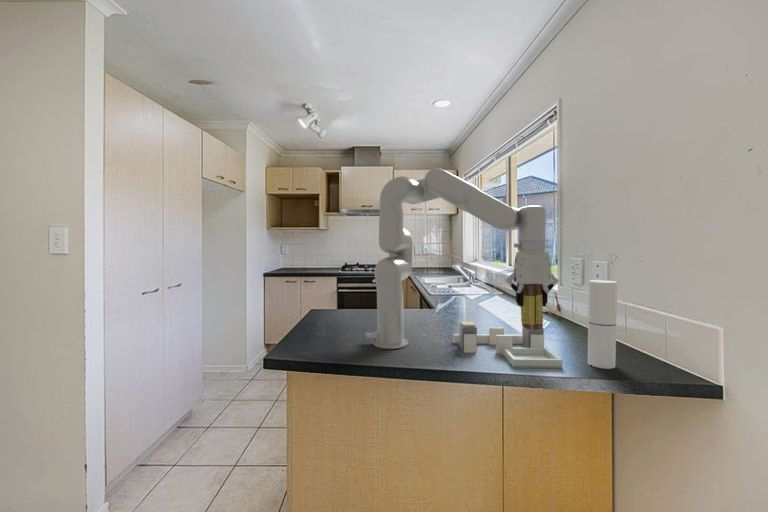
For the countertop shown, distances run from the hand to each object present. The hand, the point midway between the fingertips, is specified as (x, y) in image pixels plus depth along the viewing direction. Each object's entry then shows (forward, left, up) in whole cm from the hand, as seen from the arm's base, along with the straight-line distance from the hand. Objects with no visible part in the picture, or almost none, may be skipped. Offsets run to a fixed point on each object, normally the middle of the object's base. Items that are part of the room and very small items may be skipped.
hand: (531, 304), depth 111 cm
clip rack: (-6, +13, -18) cm, 23 cm away
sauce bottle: (0, 0, -7) cm, 7 cm away
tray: (0, 0, -18) cm, 18 cm away
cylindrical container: (+20, -2, -18) cm, 27 cm away
